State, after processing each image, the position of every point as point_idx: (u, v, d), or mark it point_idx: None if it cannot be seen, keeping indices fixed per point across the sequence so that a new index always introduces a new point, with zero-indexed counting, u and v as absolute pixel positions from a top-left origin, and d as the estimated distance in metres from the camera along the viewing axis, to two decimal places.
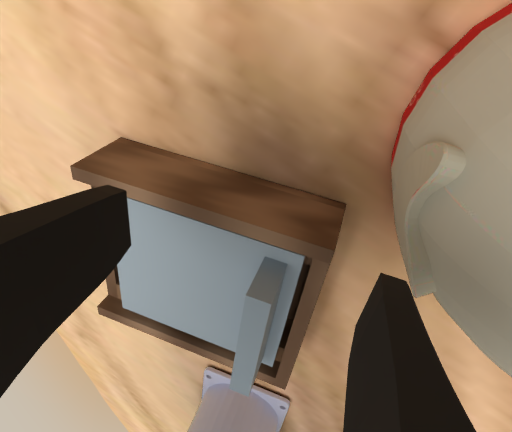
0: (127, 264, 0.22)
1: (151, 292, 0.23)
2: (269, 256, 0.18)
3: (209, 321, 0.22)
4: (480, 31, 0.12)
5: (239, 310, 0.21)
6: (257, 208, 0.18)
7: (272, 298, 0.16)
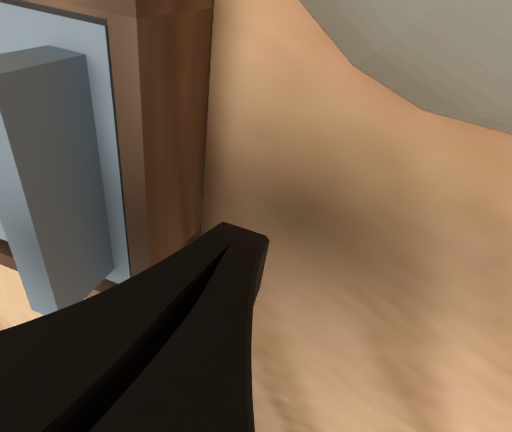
0: None
1: None
2: (54, 44, 0.10)
3: None
4: None
5: None
6: None
7: (4, 72, 0.08)
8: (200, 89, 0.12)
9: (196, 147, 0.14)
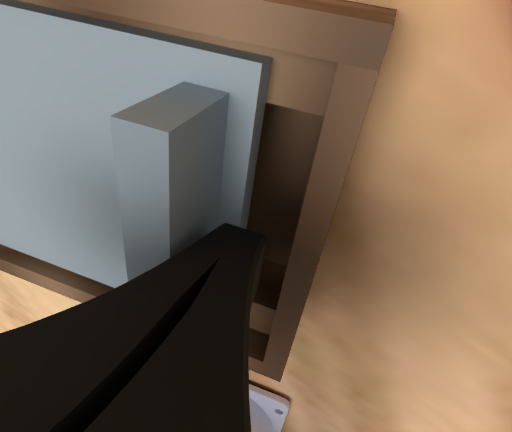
0: None
1: (21, 205, 0.14)
2: (192, 80, 0.09)
3: (117, 251, 0.13)
4: None
5: None
6: None
7: (176, 125, 0.07)
8: None
9: None
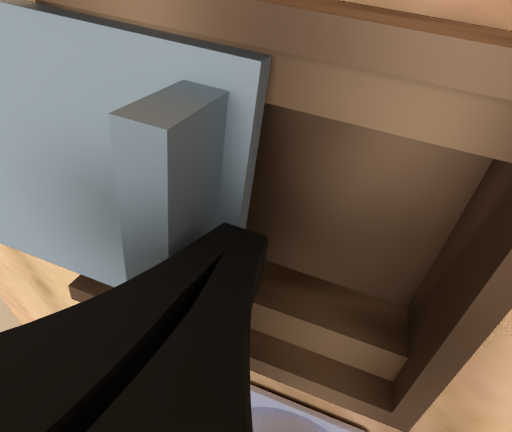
0: None
1: (20, 204, 0.14)
2: (191, 78, 0.09)
3: (116, 250, 0.13)
4: None
5: None
6: (421, 24, 0.07)
7: (174, 123, 0.07)
8: None
9: None
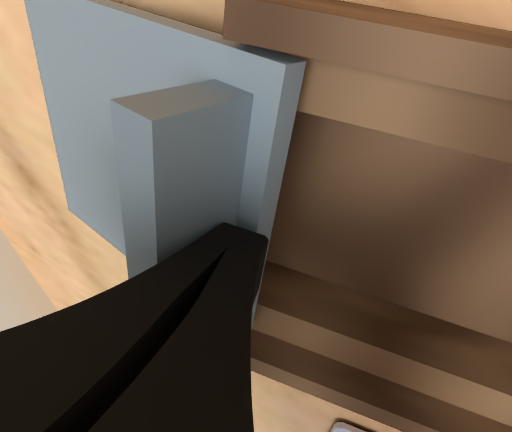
0: (60, 129, 0.15)
1: (88, 182, 0.15)
2: (221, 78, 0.08)
3: None
4: None
5: None
6: None
7: (166, 116, 0.06)
8: None
9: None
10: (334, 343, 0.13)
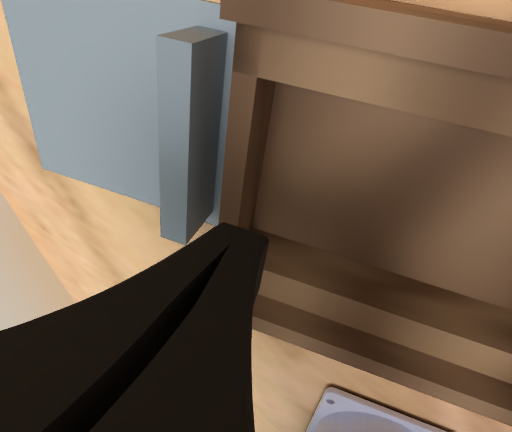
0: (35, 90, 0.17)
1: (70, 133, 0.18)
2: (202, 24, 0.13)
3: (143, 166, 0.17)
4: None
5: None
6: None
7: (195, 41, 0.11)
8: None
9: None
10: (321, 301, 0.15)
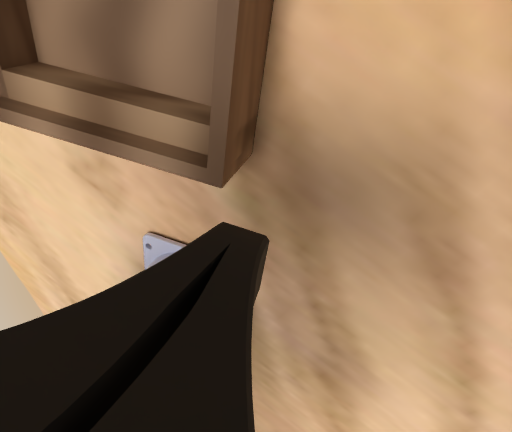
0: None
1: None
2: None
3: None
4: None
5: None
6: None
7: None
8: None
9: (265, 22, 0.15)
10: (67, 99, 0.18)
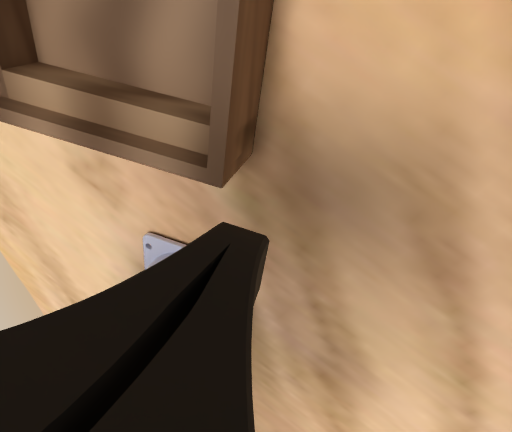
0: None
1: None
2: None
3: None
4: None
5: None
6: None
7: None
8: None
9: (265, 22, 0.15)
10: (67, 99, 0.18)
